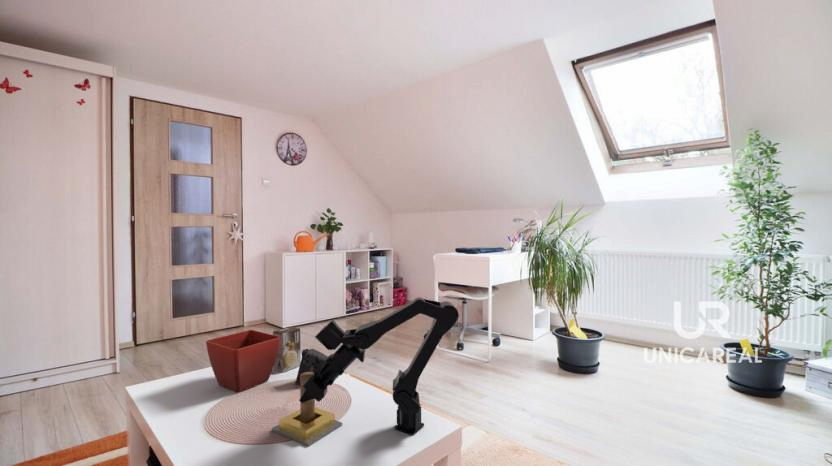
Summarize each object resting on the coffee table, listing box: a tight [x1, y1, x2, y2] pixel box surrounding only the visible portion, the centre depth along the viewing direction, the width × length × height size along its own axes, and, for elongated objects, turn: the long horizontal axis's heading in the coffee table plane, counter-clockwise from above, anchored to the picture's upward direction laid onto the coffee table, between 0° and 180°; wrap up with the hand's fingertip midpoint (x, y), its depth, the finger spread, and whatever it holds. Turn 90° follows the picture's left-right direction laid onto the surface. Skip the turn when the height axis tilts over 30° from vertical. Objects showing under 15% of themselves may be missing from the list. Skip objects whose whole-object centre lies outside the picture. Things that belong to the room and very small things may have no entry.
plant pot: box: [205, 329, 280, 393], centre depth 144 cm, size 19×19×17 cm
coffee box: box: [272, 326, 302, 373], centre depth 160 cm, size 9×6×16 cm
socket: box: [271, 406, 343, 447], centre depth 112 cm, size 15×13×3 cm
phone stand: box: [294, 348, 316, 386], centre depth 145 cm, size 9×6×12 cm, turn 147°
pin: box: [299, 372, 316, 424], centre depth 112 cm, size 4×4×14 cm
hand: (302, 398), depth 112 cm, fingers closed on pin, 4 cm apart
